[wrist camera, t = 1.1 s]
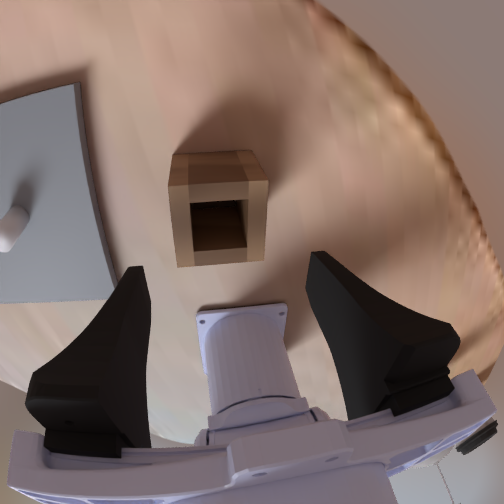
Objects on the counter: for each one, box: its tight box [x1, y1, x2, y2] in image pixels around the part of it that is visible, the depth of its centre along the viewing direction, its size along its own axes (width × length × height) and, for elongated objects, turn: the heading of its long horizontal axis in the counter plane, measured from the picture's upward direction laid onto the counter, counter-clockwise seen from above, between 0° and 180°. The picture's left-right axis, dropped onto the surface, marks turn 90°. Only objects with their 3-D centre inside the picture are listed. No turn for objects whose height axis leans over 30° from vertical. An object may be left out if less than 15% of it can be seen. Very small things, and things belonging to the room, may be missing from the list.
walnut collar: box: [168, 150, 269, 268], centre depth 19 cm, size 5×5×5 cm
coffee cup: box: [456, 417, 498, 455], centre depth 53 cm, size 11×11×15 cm
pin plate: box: [0, 82, 118, 304], centre depth 17 cm, size 16×12×4 cm
